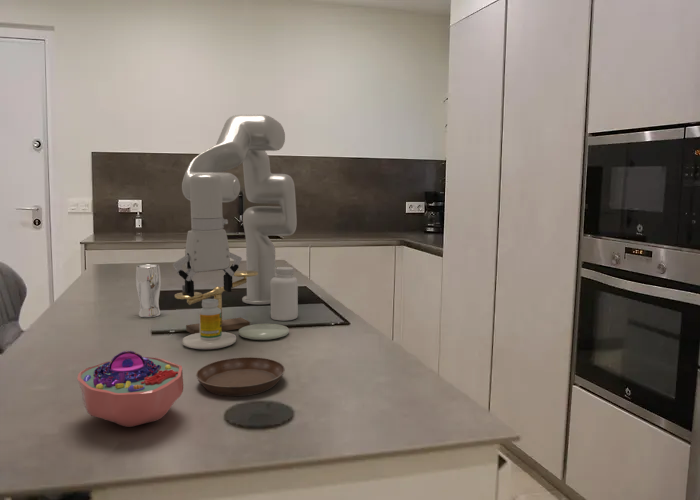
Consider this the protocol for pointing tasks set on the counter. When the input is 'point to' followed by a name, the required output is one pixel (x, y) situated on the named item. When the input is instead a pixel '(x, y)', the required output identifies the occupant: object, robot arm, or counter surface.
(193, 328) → the brass balance
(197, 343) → the cream dish
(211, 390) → the plant saucer
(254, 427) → the counter surface
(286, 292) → the pill bottle
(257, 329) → the pale green dish
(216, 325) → the supplement bottle
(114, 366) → the cell model
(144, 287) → the beer glass
